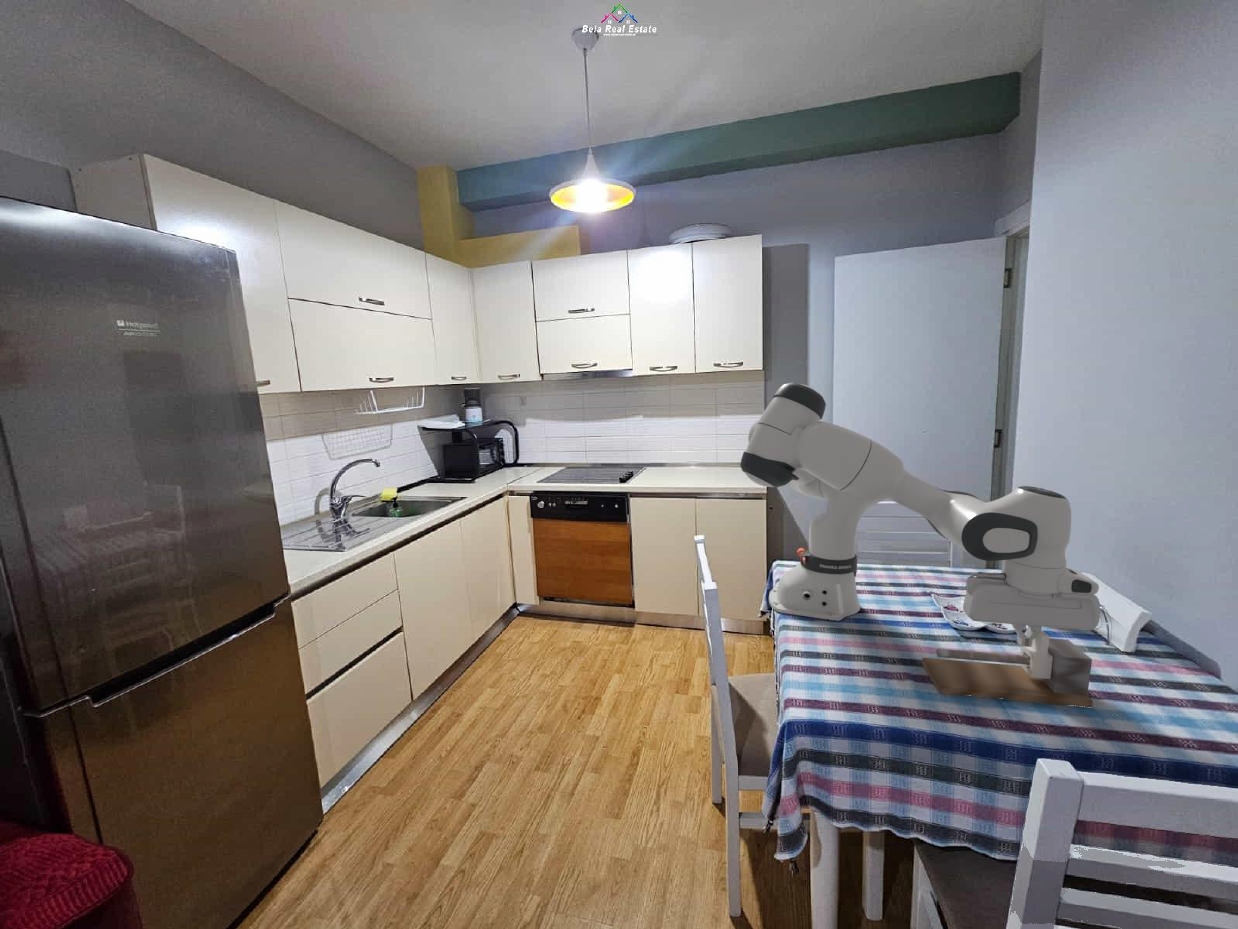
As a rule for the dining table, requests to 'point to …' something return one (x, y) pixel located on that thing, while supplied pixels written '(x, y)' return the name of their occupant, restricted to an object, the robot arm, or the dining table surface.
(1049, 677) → the white stepped block
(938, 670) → the rod board
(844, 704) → the dining table surface
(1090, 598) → the robot arm
